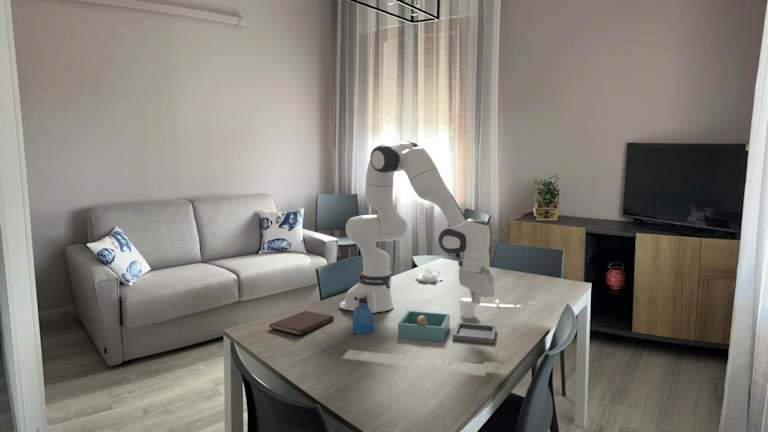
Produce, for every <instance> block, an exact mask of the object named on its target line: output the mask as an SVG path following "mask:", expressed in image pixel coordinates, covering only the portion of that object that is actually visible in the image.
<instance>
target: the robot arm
mask: <svg viewBox="0 0 768 432" xmlns="http://www.w3.org/2000/svg"><path fill="white" fill-rule="evenodd" d="M368 161H369V162H368V164H367V169H366V174H365V175H366V176H365V189H364V190H365V191H364V200H365V202H366V204H367V205H368V206H370V207H371V208H373V209H376V210H377V211H378V212H377V213H378V214H366V215H365V214H363V215H361V214H360V215H358V216H356V215H355V216H353V217H350V218H349V219H348V220H347V222H346V225H345V233H346V236H347V238H348V239H349V240H350V241H352V242H353V243H354V244H355V245H356V246H357V247H358V249H359V251H360V254H361V256H362V265H363V266H362V268H363V269H362V272H361V273H360V274H359V276H357V280H358V283H356V284H355V285H353V286H352V287H350V288H349V289H348V290H347V291H346V294H345V297H344V298H345V299H344V300H343V301H341V302H340V303H339V308H340V309H341V310H348V311H352V312H354V310H355V308H356V307H357V306H359V305H358V302H359V298H367V302H368V305H367V306H368V307H369V309H370V311H371V313H372V314H375V313H379V312H386V311H390V310H392V309H394V307H395V306H394V303H393V299H392V293H391V292H392V291H391V287H392V276H391V275H392V274H391V269H390V268H391V264H390V263H391V259H390V258H391V257H390V254H389V253H388V252H386V251H385V250H383V249H381V248H378V247H377V242H393V241H397V240H398V241H399V240H401V239H404V237H406V234H407V233H408V222H407V220H406V218H404V217H403V216H402V215H401V214H400V213H399V212H398V211H397V210H396V207H395V205H394V200H393V199H394V198H393V197H394V194H393V193H394V177H395V176H394V175H395V172H400V171H404V172H405V175H407V178H408V180H409V183H410V185H411V187H412V189H413V191H414V193H415V194H416V195H417V196H418V197H419V198H420V199H422V200H424V201H427V202H430V203H431V204H434V205H435V206H437V207H438V208H439V209H440V210H441V211H442V212H441V213H442V214H443V215H444V217H445V218H446V220H447V223H448V224H449V227H447V228H445V229H443V230H442V231H440V233H439V235H438V238H437V239H438V240H437V241H438V245H439V248H440V249H441V250H442V251H443V252H444V253H446V254H449V255H453V254H454V255H455V254H463V258H461V259H459V260H458V262H457V265H458V268H459V269H458V282H459V285H461V286H462V287H464V288H466V289H468V290H469V293H470V296H471V298H472V302H473V303H474V304H476V306H478V305H477V304H480V303H481V299H482V297H483V298H493V297H494V296H495V292H496V291H495V279H494V276H493V274H492V272H491V270H490V261H491V260H490V259H491V258H490V252H489V251H490V245H491V234H490V233H491V231H490V226H489V224H488V222H487V221H486V220H484V219H480V218H473V217H470V218H468V219H467V218H466V216H465V214H463V211H462V210H461V208H460V206H459V204H458V203H457V201H456V199H455V197H454V196H453V194H452V193H451V191H450V190H449V189H448V187H447V185H446V183H445V181H444V180H443V177H442V176H441V174H440V171H439V169H438V167H437V166H436V164H435V161H433V159H432V158H431V156H430V155H429V153H428V152H427V150H426V149H424V148H423V147H421V146H419V144H417V143H416V142H414V141H411V140H405V141H393V142H389V143H386V144H385V143H384V144H380V145H378V146H376V147H375V148H373V149H372V150H371V153H370V159H369V160H368Z"/></svg>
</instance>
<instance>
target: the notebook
mask: <svg viewBox="0 0 768 432" xmlns="http://www.w3.org/2000/svg"><path fill="white" fill-rule="evenodd" d="M334 319H335V318H334V315H331V314H325V313H324V314H323V313H317V312H314V311H309V310H303V311H301V312H298V313H295V314H293V315H289V316H287V317H284V318H282V319H279V320H276V321H274V322H272V323H270V324H269V328H270V329H274V330H277V331H281V332H285V333H288V334H289V333H290V334H293V335H298V336H301V335H303V334H305V333H308V332H309V331H312V330H315V329H317V328H319V327H321V326H324V325H326V324H328V323H330V322H333V321H334Z"/></svg>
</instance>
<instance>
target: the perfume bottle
mask: <svg viewBox="0 0 768 432" xmlns="http://www.w3.org/2000/svg"><path fill="white" fill-rule="evenodd" d="M358 305H359V306H357V307H356V308H355V310H354V311H352V329H353V330H354V333H355V335H361V334H362V335H363V334H373V333H374V315H373V314H374V313H371V311H370V309H369V307H368V306H367V305H368V302H367V298H359V302H358Z"/></svg>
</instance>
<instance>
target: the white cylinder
mask: <svg viewBox="0 0 768 432" xmlns="http://www.w3.org/2000/svg"><path fill="white" fill-rule="evenodd" d="M458 301H459V315H460V317H461V318H464V319H474V318H475V317H476V316H475V315H476V308H477V305H476V304H474V303H473V302H472V297H470V296H463V297H459V298H458Z"/></svg>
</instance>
